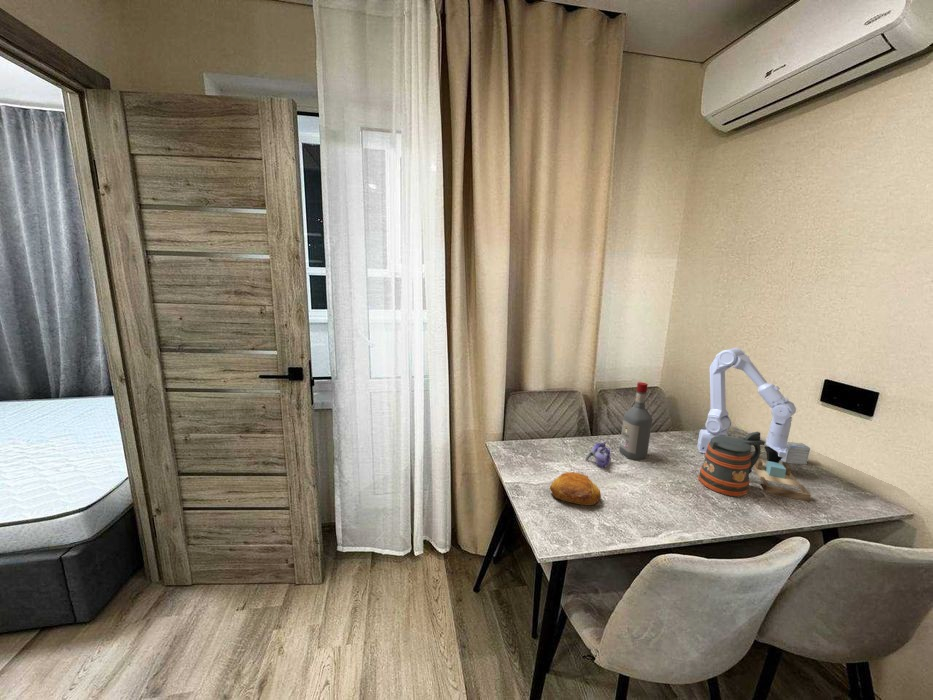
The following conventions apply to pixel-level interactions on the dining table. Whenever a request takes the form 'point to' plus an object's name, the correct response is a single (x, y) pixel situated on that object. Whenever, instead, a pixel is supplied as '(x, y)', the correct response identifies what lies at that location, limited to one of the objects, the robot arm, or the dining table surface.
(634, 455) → the liquor
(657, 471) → the dining table surface
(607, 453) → the flower
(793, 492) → the deck
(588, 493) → the bread loaf
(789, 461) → the medicine box
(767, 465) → the block
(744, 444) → the beer stein
